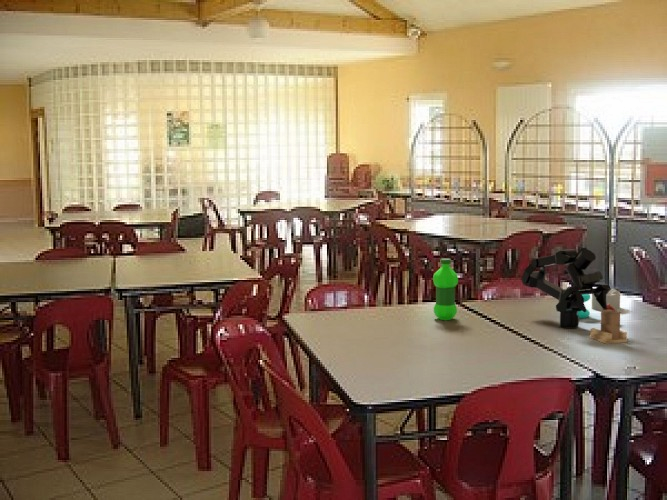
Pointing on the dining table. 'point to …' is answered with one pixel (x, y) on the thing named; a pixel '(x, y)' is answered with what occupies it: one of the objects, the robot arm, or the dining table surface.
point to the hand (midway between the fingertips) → (595, 310)
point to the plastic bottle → (445, 291)
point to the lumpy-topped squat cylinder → (608, 300)
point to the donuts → (587, 313)
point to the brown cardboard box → (611, 323)
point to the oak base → (607, 336)
